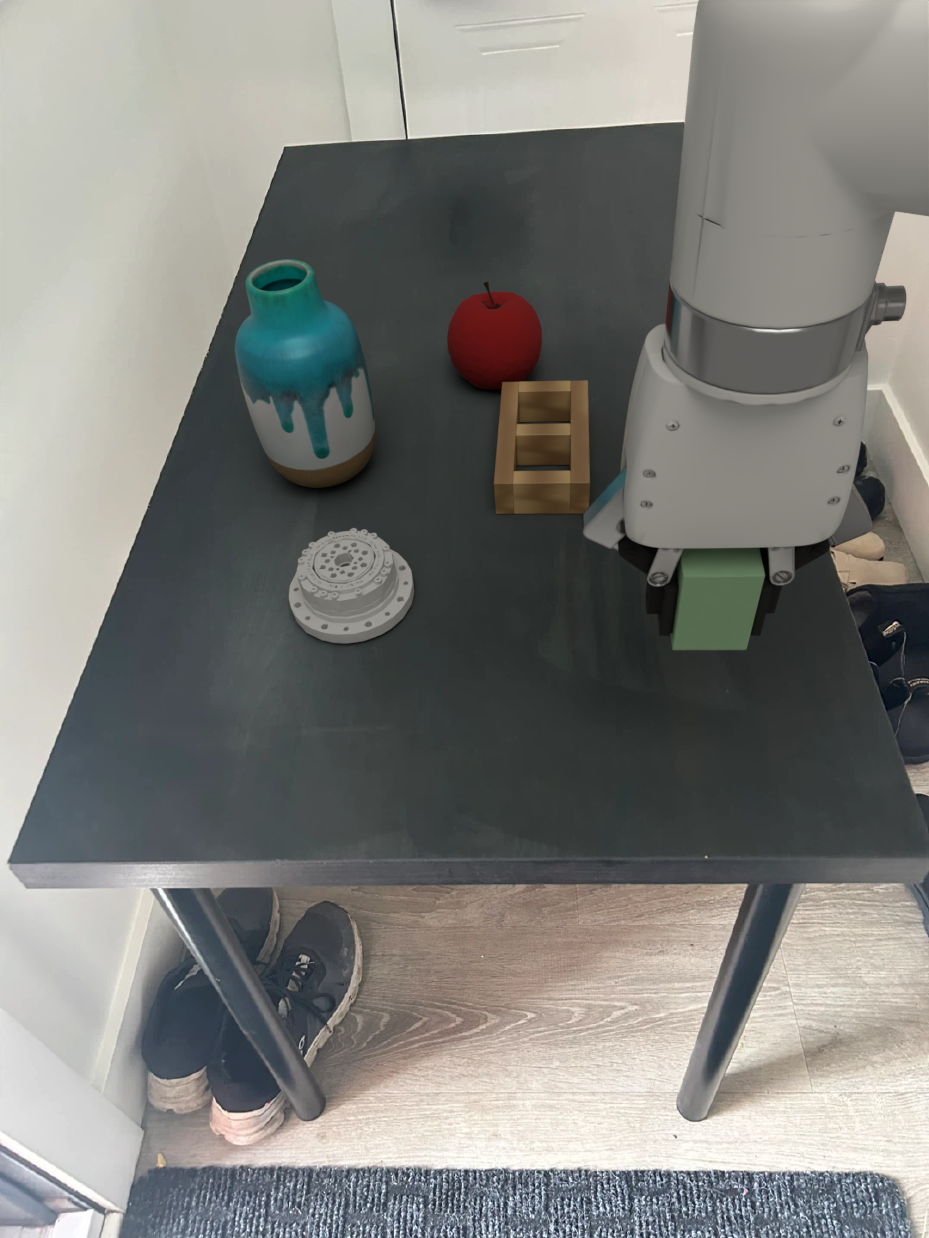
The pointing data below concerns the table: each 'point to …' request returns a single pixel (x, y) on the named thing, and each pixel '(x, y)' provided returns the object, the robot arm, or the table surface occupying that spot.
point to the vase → (304, 378)
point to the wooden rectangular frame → (543, 448)
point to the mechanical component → (350, 587)
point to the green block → (717, 598)
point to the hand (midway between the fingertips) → (706, 614)
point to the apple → (494, 339)
